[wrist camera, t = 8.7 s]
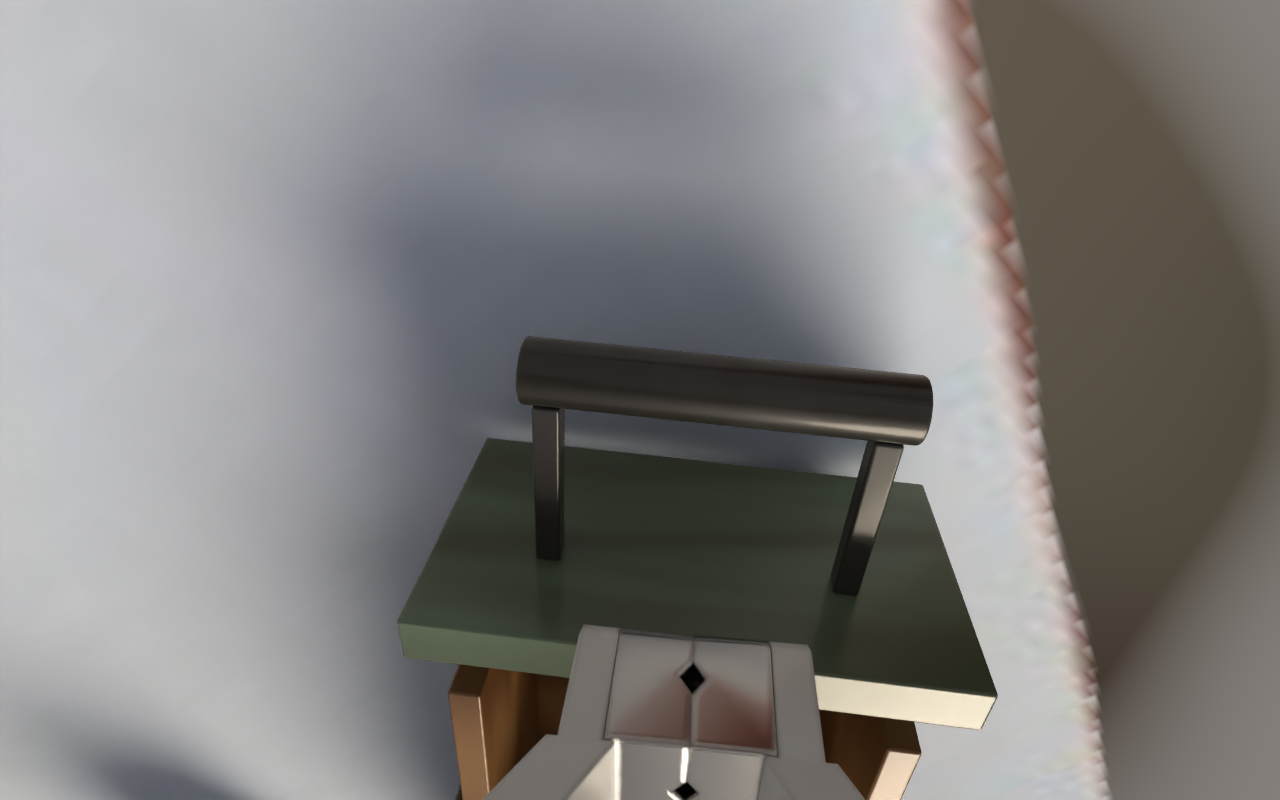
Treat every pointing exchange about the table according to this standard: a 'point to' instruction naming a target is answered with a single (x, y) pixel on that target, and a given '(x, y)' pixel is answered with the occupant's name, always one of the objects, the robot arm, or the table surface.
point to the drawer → (700, 555)
